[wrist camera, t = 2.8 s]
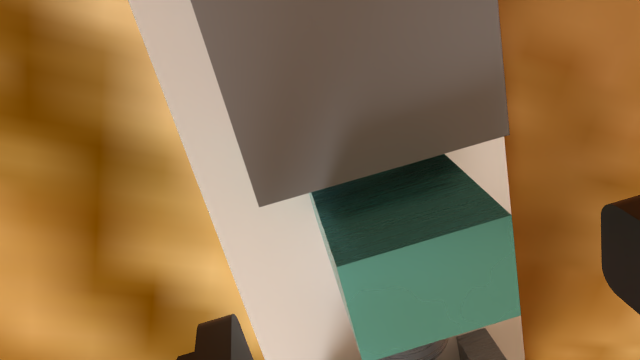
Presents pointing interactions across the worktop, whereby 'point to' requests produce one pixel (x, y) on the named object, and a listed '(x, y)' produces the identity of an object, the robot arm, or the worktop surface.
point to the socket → (478, 346)
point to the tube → (418, 257)
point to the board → (283, 225)
